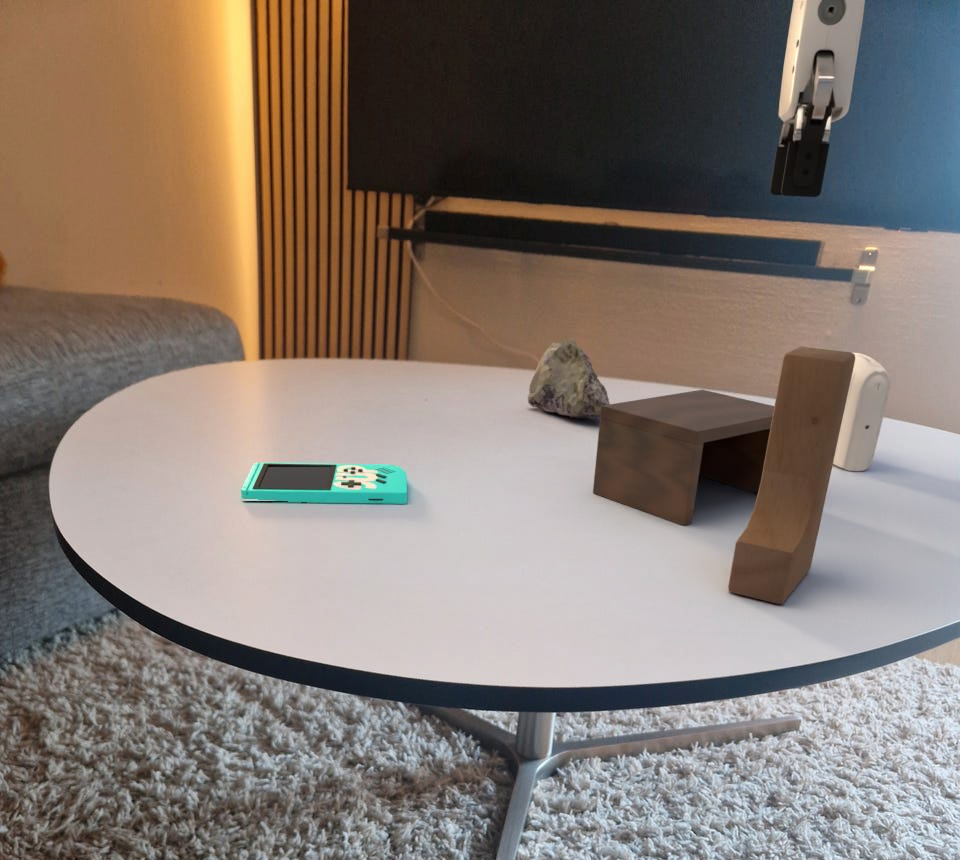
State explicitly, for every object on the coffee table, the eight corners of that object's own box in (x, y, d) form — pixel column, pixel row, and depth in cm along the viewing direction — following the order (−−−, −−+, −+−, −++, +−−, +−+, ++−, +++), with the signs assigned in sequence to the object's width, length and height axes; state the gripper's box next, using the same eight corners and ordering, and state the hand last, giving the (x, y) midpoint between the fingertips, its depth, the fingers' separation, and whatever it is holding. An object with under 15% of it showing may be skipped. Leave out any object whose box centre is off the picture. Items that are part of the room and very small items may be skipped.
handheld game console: (407, 504, 90) (407, 491, 89) (239, 502, 89) (238, 489, 88) (406, 474, 99) (406, 462, 98) (254, 472, 98) (253, 460, 97)
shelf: (781, 497, 97) (797, 411, 93) (683, 525, 88) (697, 431, 84) (690, 469, 105) (702, 389, 101) (592, 493, 96) (601, 405, 92)
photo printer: (876, 471, 108) (902, 362, 102) (842, 472, 107) (866, 362, 101) (831, 448, 117) (852, 346, 111) (799, 448, 116) (819, 346, 110)
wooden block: (782, 607, 72) (831, 368, 64) (725, 593, 74) (766, 360, 66) (810, 571, 79) (857, 352, 70) (758, 559, 81) (798, 345, 73)
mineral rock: (613, 429, 121) (621, 350, 116) (530, 426, 120) (536, 347, 116) (601, 407, 132) (608, 334, 128) (525, 404, 132) (530, 331, 127)
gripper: (905, -64, 67) (854, 198, 75) (861, -17, 82) (822, 196, 90) (798, -64, 68) (758, 194, 76) (774, -18, 83) (743, 193, 91)
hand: (793, 195), depth 83 cm, fingers open, 9 cm apart
